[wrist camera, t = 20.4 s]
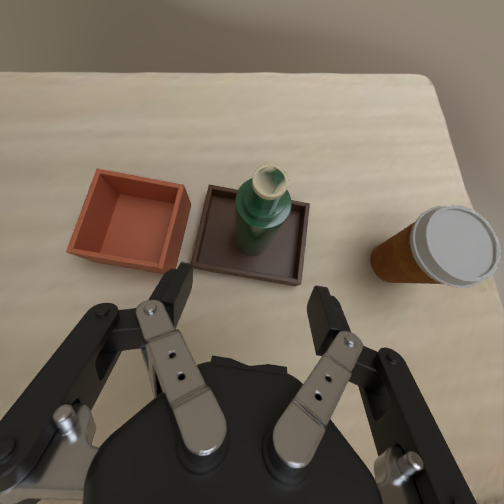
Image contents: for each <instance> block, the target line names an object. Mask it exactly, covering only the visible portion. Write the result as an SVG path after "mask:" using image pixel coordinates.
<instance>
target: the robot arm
mask: <svg viewBox="0 0 504 504" xmlns="http://www.w3.org/2000/svg"><path fill="white" fill-rule="evenodd" d="M192 282H193V264H190V263H184V262H181V263H180V265H179V267H178V269H172V268H171V269H170V270H168V271H167V272H165V274H164V275H163V277H162V279H161V280H160V282H159V284H158V285H157V287H156V288H155V290H154V291H153V293H152V295H151V296H150V298H149V300H148V301H144V302H142V303H141V304H139V305H138V306H137V308H134V309H125V310H118V307H117V306H116V305H114V304H112V303H101V304H98V305H95V306H93V307H92V308H90V309H89V310H88V311H87V313H86V314H85V315H84V316H83V318H82V319H81V320H80V321H79V323H78V324H77V325H76V326H75V328H74V329H73V330H72V331H71V333H70V334H69V335H68V336H67V338H66V339H65V340H64V342H63V343H62V344H61V345H60V347H59V348H58V349H57V350H56V352H55V353H54V354H53V355H52V357H51V358H50V359H49V360H48V362H47V363H46V364H45V365H44V367H43V368H42V369H41V370H40V372H39V373H38V374H37V376H36V377H35V378H34V379H33V381H32V382H31V383H30V384H29V386H28V387H27V388H26V389H25V391H24V392H23V393H22V394H21V396H20V397H19V398H18V399H17V401H16V402H15V403H14V405H13V406H12V407H11V408H10V410H9V411H8V412H7V413H6V415H5V416H4V417H3V418H2V420H1V421H0V504H36V503H37V502H38V501H40V500H41V499H57V500H83V504H477V503H476V501H475V499H474V497H473V495H472V493H471V491H470V489H469V487H468V485H467V483H466V481H465V479H464V477H463V475H462V473H461V471H460V469H459V467H458V465H457V463H456V461H455V459H454V457H453V455H452V453H451V451H450V449H449V447H448V445H447V443H446V441H445V439H444V437H443V435H442V433H441V431H440V429H439V428H438V426H437V424H436V422H435V420H434V418H433V416H432V414H431V412H430V410H429V408H428V406H427V404H426V402H425V400H424V398H423V396H422V394H421V392H420V390H419V388H418V386H417V384H416V382H415V380H414V378H413V376H412V374H411V372H410V370H409V368H408V366H407V364H406V362H405V360H404V359H403V358H402V357H401V356H400V355H399V354H398V353H397V352H395V351H394V350H392V349H389V348H381V349H380V350H379V351H378V352H377V351H374V350H372V349H370V348H367V347H365V346H363V344H362V342H361V340H360V339H359V338H358V337H357V336H356V335H355V334H353V333H351V331H350V328H349V326H348V323H347V320H346V318H345V315H344V313H343V310H342V308H341V305H340V303H339V301H338V300H337V299H336V298H335V297H334V296H331V295H330V293H329V290H328V288H327V287H322V286H315V287H314V289H313V291H312V294H311V296H310V298H309V301H308V304H307V314H308V319H309V324H310V328H311V333H312V338H313V342H314V347H315V352H316V355H318V356H322V357H321V359H320V360H319V362H318V363H317V365H316V366H315V368H314V369H313V371H312V372H311V374H310V375H309V377H308V378H307V380H306V381H305V383H304V384H302V383H301V382H300V381H299V380H298V379H296V378H295V377H293V376H292V375H290V374H287V367H284V366H277V365H270V364H266V365H256V366H248V365H245V364H243V363H240V362H238V361H236V360H233V359H231V358H224V357H218V356H212V358H211V362H205V363H201V364H198V365H196V363H195V361H194V359H193V357H192V355H191V353H190V351H189V349H188V347H187V345H186V343H185V340H184V338H183V336H182V334H181V332H180V331H179V330H175V328H176V326H177V323H178V321H179V319H180V316H181V314H182V311H183V309H184V306H185V304H186V302H187V299H188V297H189V294H190V292H191V288H192ZM138 348H140V350H141V353H142V356H143V359H144V362H145V366H146V369H147V372H148V375H149V379H150V384H151V389H152V392H153V396H154V399H153V400H152V401H151V402H150V403H148V404H147V405H146V406H145V407H144V408H142V409H141V410H140V411H139V412H138V413H136V414H135V415H134V416H133V417H132V418H131V419H129V420H128V421H127V422H126V423H125V424H123V425H122V426H121V427H120V428H119V429H117V430H116V431H115V432H114V433H113V434H112V435H110V436H109V437H108V438H107V439H106V441H105V442H104V443H103V444H102V445H101V447H100V448H97V447H94V446H93V445H92V442H93V438H94V435H95V431H96V424H95V421H94V418H93V416H92V413H91V410H92V408H93V406H94V404H95V402H96V400H97V398H98V396H99V394H100V392H101V391H102V389H103V387H104V385H105V383H106V381H107V379H108V377H109V375H110V373H111V371H112V369H113V368H114V366H115V364H116V362H117V360H118V358H119V356H120V354H121V352H122V351H124V350H131V349H138ZM348 381H349V382H351V383H354V384H356V385H358V387H359V390H360V394H361V397H362V401H363V404H364V408H365V411H366V415H367V418H368V422H369V425H370V429H371V432H372V436H373V439H374V443H375V446H376V450H377V453H378V458H377V459H376V460H375V462H374V474H375V479H374V477H373V475H372V474H371V472H370V471H369V469H368V468H367V466H366V465H365V464H364V462H363V461H362V460H361V458H360V457H359V456H358V455H357V453H356V452H355V451H354V449H353V448H352V447H351V445H350V444H349V443H348V442H347V440H346V439H345V438H344V436H343V435H342V434H341V432H340V431H339V430H338V428H337V427H336V426H335V425H334V423H333V422H332V421H331V419H330V418H331V416H332V414H333V412H334V410H335V408H336V406H337V404H338V402H339V400H340V397H341V395H342V393H343V391H344V389H345V387H346V385H347V383H348Z"/></svg>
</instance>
